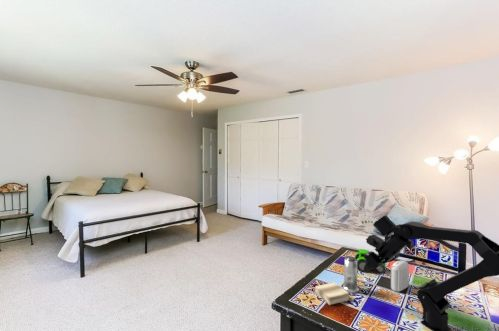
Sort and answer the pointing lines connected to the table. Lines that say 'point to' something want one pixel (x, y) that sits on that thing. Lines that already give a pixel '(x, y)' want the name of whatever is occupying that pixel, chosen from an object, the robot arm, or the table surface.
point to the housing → (350, 275)
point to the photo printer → (399, 275)
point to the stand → (332, 293)
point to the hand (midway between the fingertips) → (370, 267)
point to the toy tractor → (362, 261)
